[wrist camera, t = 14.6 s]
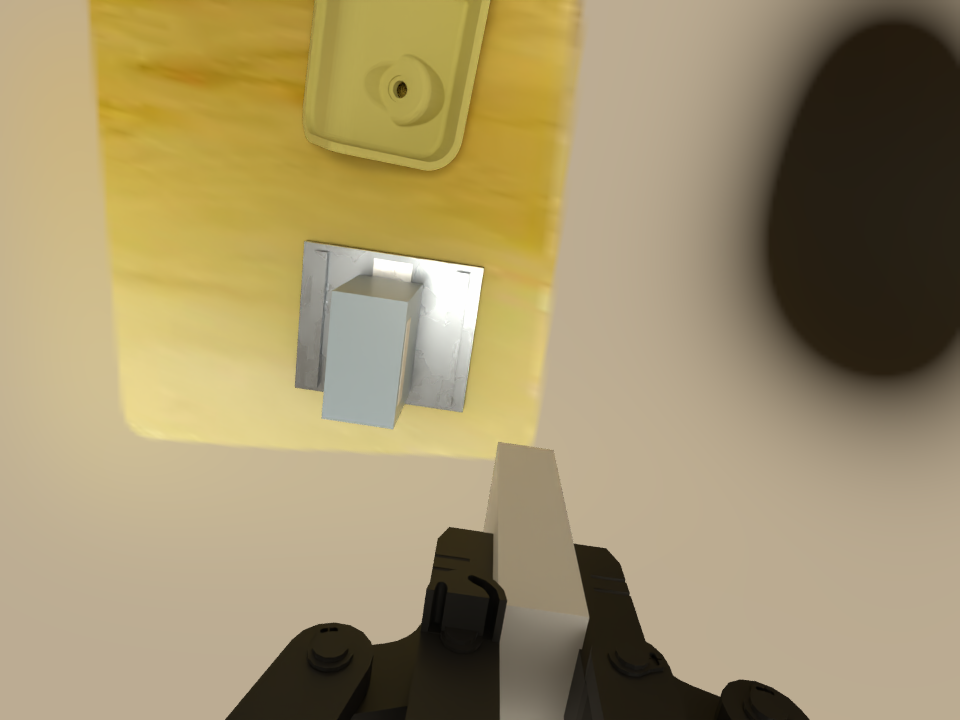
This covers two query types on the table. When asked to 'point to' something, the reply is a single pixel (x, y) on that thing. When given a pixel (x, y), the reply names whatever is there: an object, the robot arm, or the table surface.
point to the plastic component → (392, 78)
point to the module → (370, 350)
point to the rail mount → (439, 326)
